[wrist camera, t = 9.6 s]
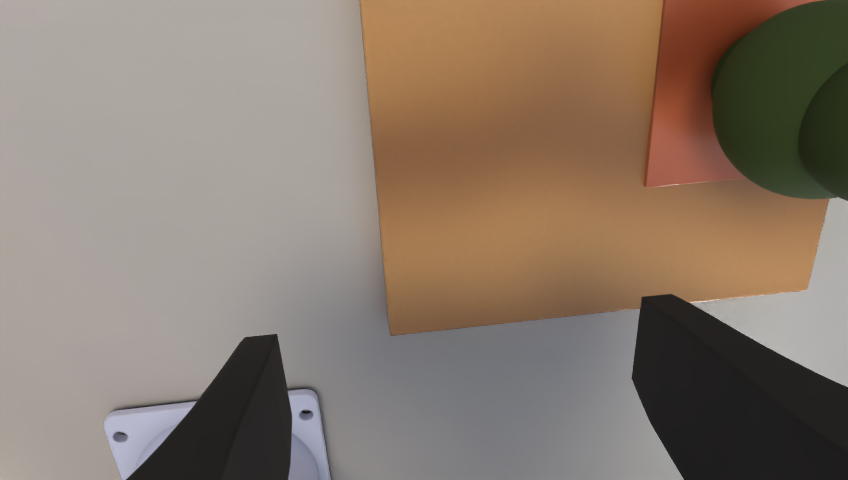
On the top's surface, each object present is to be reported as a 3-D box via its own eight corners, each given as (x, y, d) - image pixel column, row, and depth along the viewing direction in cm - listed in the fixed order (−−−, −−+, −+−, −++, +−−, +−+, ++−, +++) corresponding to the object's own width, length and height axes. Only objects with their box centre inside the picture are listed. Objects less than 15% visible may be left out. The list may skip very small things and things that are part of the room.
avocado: (820, 152, 22) (1017, 250, 16) (667, 166, 22) (805, 273, 15) (859, -18, 20) (1111, 15, 13) (687, -6, 20) (862, 35, 13)
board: (791, 277, 26) (810, 293, 25) (388, 321, 25) (390, 339, 24) (867, -54, 21) (896, -52, 20) (357, -20, 19) (358, -17, 18)
